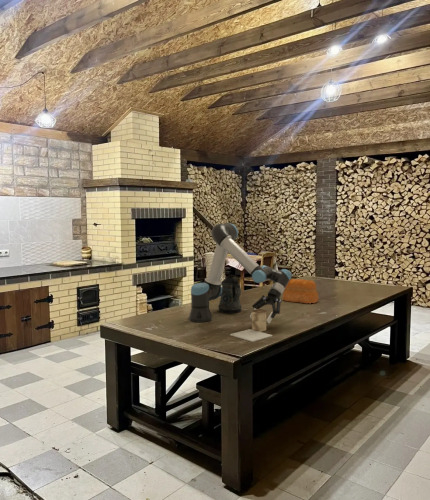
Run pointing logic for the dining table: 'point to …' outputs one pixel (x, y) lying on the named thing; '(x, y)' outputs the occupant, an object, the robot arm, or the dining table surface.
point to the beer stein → (230, 296)
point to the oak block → (259, 320)
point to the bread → (301, 291)
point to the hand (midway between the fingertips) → (259, 320)
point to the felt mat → (251, 335)
